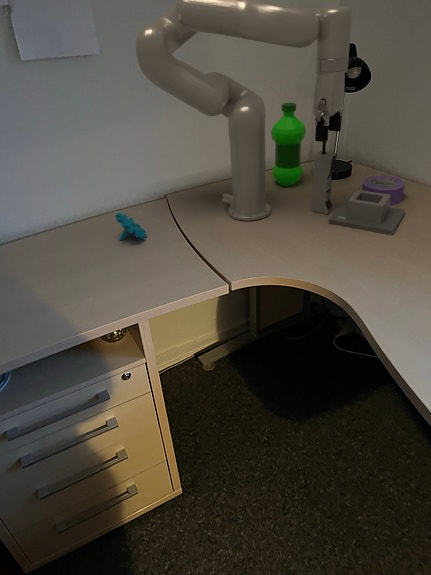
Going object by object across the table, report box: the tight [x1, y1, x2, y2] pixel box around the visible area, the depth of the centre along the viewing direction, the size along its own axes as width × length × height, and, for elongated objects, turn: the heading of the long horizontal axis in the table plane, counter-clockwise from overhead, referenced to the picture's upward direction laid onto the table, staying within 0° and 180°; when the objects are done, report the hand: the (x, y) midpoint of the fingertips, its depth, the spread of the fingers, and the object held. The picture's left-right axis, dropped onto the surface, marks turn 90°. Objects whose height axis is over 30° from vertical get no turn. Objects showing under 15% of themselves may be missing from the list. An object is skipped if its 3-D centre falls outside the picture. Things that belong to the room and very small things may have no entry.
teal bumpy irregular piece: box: [114, 212, 148, 241], centre depth 128 cm, size 11×6×10 cm
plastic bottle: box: [271, 102, 306, 187], centre depth 147 cm, size 10×10×25 cm
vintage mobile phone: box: [311, 142, 338, 215], centre depth 128 cm, size 4×5×25 cm
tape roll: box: [361, 174, 405, 206], centre depth 139 cm, size 12×12×5 cm
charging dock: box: [328, 189, 406, 236], centre depth 127 cm, size 17×14×6 cm
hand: (328, 135), depth 123 cm, fingers open, 9 cm apart
